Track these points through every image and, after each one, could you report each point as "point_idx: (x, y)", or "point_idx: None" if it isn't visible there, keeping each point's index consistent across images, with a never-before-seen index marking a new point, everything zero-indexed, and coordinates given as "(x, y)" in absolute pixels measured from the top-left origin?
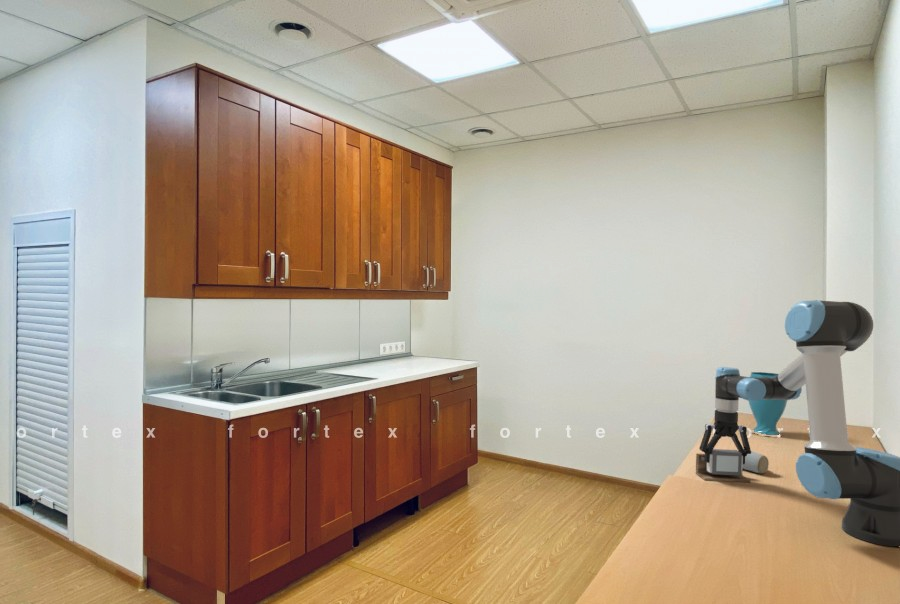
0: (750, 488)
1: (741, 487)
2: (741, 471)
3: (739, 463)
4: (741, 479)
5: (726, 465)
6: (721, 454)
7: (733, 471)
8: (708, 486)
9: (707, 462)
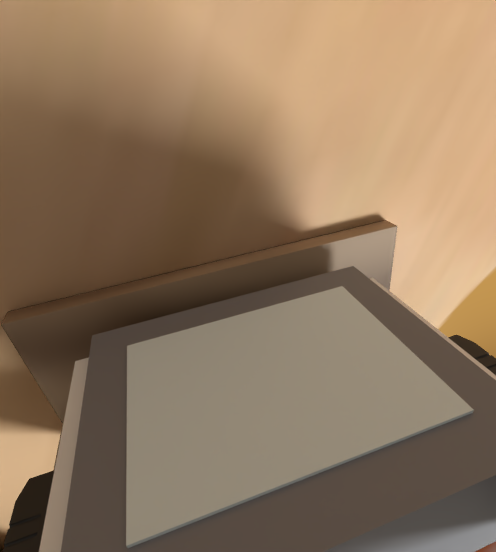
0: (25, 97)
1: (128, 108)
2: (82, 378)
3: (107, 435)
4: (91, 309)
5: (272, 354)
6: (423, 452)
7: (177, 335)
8: (437, 48)
9: (451, 338)
